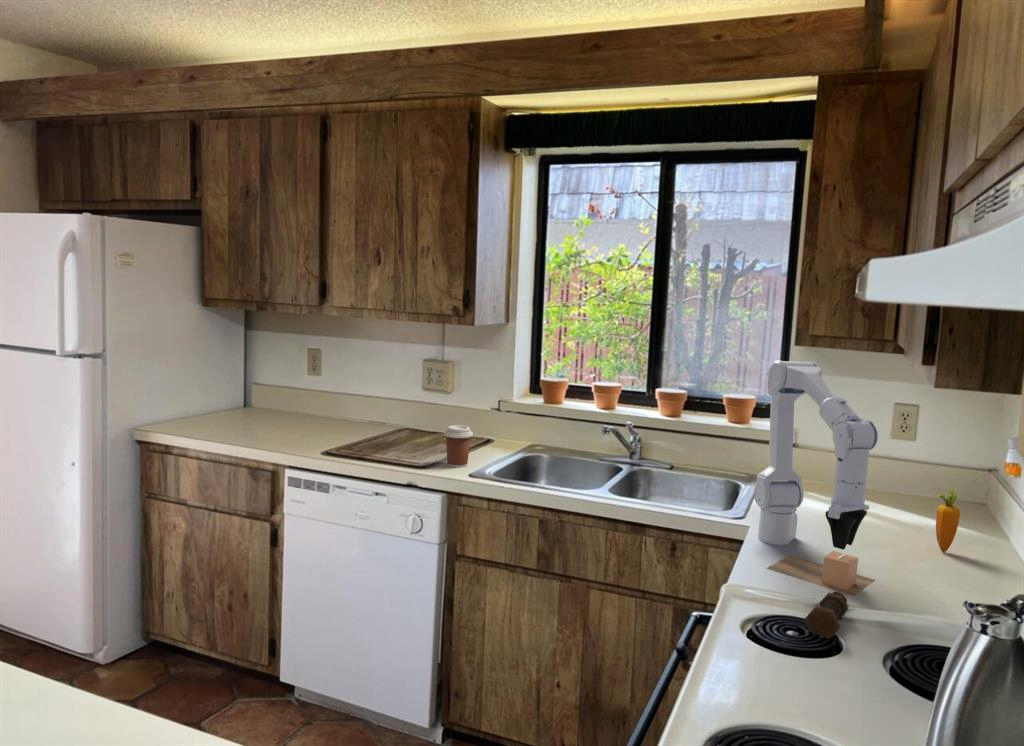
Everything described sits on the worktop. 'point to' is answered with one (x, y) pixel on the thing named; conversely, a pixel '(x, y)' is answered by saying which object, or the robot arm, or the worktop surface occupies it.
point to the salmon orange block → (839, 570)
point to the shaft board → (814, 573)
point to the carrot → (947, 521)
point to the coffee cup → (458, 445)
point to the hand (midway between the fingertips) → (842, 545)
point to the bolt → (827, 615)
